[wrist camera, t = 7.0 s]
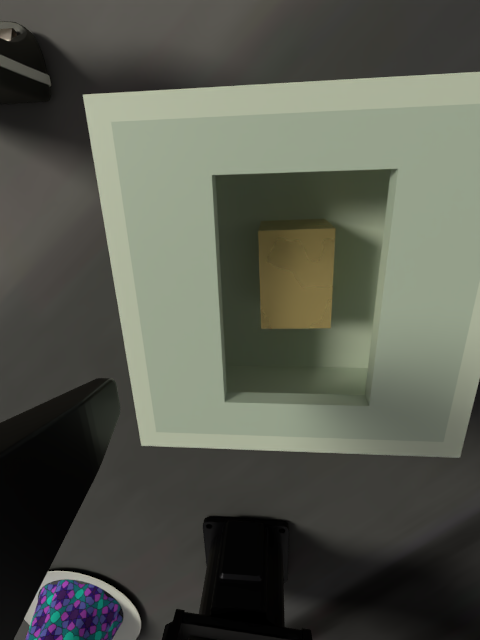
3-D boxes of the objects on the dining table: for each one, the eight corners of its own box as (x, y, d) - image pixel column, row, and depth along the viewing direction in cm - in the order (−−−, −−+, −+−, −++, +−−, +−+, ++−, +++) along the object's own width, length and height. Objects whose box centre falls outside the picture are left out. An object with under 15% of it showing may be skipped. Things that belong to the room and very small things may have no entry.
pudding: (165, 599, 33) (146, 673, 28) (114, 657, 37) (90, 729, 32) (43, 543, 31) (1, 610, 27) (6, 610, 36) (-36, 678, 31)
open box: (405, 373, 22) (459, 457, 15) (178, 369, 23) (141, 445, 17) (447, 108, 17) (557, 67, 10) (151, 123, 18) (82, 94, 11)
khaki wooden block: (321, 303, 20) (330, 328, 17) (263, 303, 20) (261, 328, 17) (324, 218, 18) (335, 228, 15) (261, 221, 18) (258, 230, 15)
